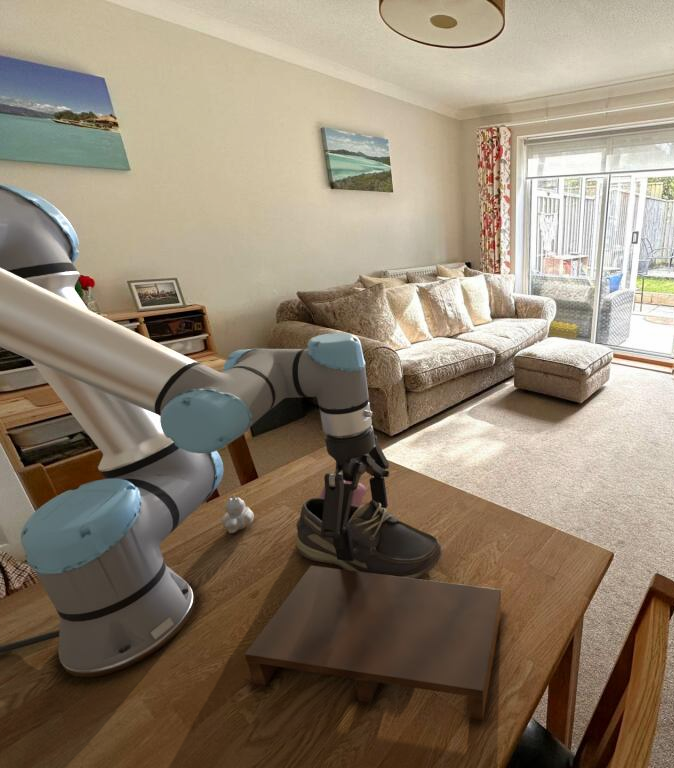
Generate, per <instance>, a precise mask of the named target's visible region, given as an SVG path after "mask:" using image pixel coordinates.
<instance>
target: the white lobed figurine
mask: <svg viewBox="0 0 674 768" xmlns="http://www.w3.org/2000/svg"><path fill="white" fill-rule="evenodd" d="M225 510H226V513H225V514H224V515H223V516H222V518H221V524H222V526H223V527H224V528H226V529H227V531H228V533H229V534H234V533H236V532H237V531H238V530H243V529H245V528H247V527H249V526H251V524H252V523H253V521H254V519H255V514H254V512H253V511H252V510H251V508H250V507H248V506H246V503H245V501H244V500H243V499H241V498H240V497H236V495H235V494H234V493H233V494H232V496H231V497H229V498H228V499H227V501H226V504H225Z"/></svg>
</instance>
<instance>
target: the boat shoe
mask: <svg viewBox="0 0 674 768" xmlns="http://www.w3.org/2000/svg"><path fill="white" fill-rule="evenodd" d="M323 507H324V498H319V497H312V498H309V499H307V500H306V501H305V502H304V503H303V504H302V506H301V509H300V510H301V511H300V513H299V519H298V520H297V522H296V530H297V533H296V535H295V544H296V547H297V548H296V549H297V550H298V553H299V554H300V555H301V556H302V557H305V558H307V559H309V560H310V561H311V560H312V561H315V562H318V563H319V562H320V563H329V564H332V565H333V564H334V565H335V566H339V567H340V568H341V569H343V570H350V571H358V572H366V573H374V574H382V575H390V576H398V577H405V578H413V579H419V578H420V577H423V576H424V575H425V574H428V573H429V572H430V571H431V570H432V569H434V567H435V566H436V565H437V564H438V563H439V561H440V559H441V558H442V553H443V549H442V544H441V543H440V542H439V540H438V539H437V537H435V536H433V535H431V534H429V533H427V532H425V531H423V530H419V528H416V527H413V526H412V525H409V524H407V523H405V522H403V521H401V520H400V519H399V518H398V517H397V516H395V515H393V514H392V513H390V512H389V511H388V510H387V508H382V507H381V504H380V503H377V502H375V501H374V500H372V499H371V500H370V501H369V502H366V503H364V504H363V503H362V504H361V506H356V505H352V504H351V507H350V512H349V516H348V521H347V526H346V527H350V533H351V539H352V544H353V550H354V556H355V558H354V560H353V561H346V560H337V555H336V549H335V548H334V544H333V539H332V538H327V537H321V527H322V517H323Z"/></svg>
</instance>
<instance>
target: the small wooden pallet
mask: <svg viewBox="0 0 674 768" xmlns="http://www.w3.org/2000/svg"><path fill="white" fill-rule="evenodd" d="M501 601H502V589H501V588H500V589H499V588H491V587H483V586H476V585H468V584H460V583H453V582H445V581H437V580H429V579H420V578H416V579H413V578H405V577H398V576H390V575H382V574H374V573H366V572H358V571H350V570H345V569H343V568H333V567H327V566H326V567H325V566H317V565H310V566H309V567H308V569H307V570H306V571H305V573H304V574H303V576H302V577H301V578H300V579H299V581H298V582H297V584H296V585H295V586H294V587H293V589H292V590H291V592H290V593H289V594H288V595H287V597H286V598H285V600H283V602H282V603H281V604H280V606H279V608H277V611H276V612H275V613H274V614H273V615H272V617H271V618H270V620H269V621H268V622H267V623H266V625H265V626H264V627H263V629H262V630H261V632H260V633H259V634H258V636H257V637H256V638H255V640H254V641H253V642H252V644H251V645H250V646H249V648H248V649H247V650H246V652H245V653H244V657H245V660H246V663H247V666H248V668H249V672H250V676H251V678H252V681H253V684H255V685H260V686H267V685H268V683H269V682H270V681H271V679H272V677H273V676H274V674H275V673H276V671H277V670H278V668H285V669H292V670H298V671H304V672H311V673H317V674H324V675H330V676H337V677H342V678H343V677H344V678H350V679H354V682H355V688H356V694H357V699H358V701H360V702H365V703H372V702H373V699H374V697H375V694H376V692H377V689H378V687H379V685H380V683H382V684H389V685H394V686H395V685H396V686H400V687H408V688H414V689H420V690H421V689H422V690H427V691H432V692H433V691H434V692H439V693H447V694H452V695H460V696H465V697H468V704H469V705H468V710H469V711H468V712H469V713H468V715H469V719H471V720H477V721H483V720H484V718H485V717H484V716H485V710H486V704H487V698H488V693H489V686H490V680H491V675H492V670H493V669H492V668H493V662H494V658H495V651H496V645H497V638H498V633H499V628H500V627H499V626H500V622H501V621H500V620H501V610H502V609H501V603H502V602H501Z"/></svg>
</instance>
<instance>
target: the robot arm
mask: <svg viewBox="0 0 674 768" xmlns="http://www.w3.org/2000/svg"><path fill="white" fill-rule="evenodd" d="M79 246H80V240H79V237H78V235H77V232H76V230H75V229H74V227H73V226H72V223H71V222H70V221H69V220H68V218H67V217H66V216H65V215H64V214H63V213H62V211H60V210H59V209H58V207H56V206H54V205H53V204H52V203H51V202H49V201H48V200H46V199H45V198H43V197H41V196H39V195H38V194H36V193H32V191H31V192H30V191H29V190H26V189H24V188H21V187H18V186H13V185H8V184H1V183H0V348H2V349H4V350H7V351H9V352H11V353H14V354H16V355H18V356H20V357H21V356H22V357H23V358H25V359H28V360H30V361H31V363H32V364H33V366H34V367H35V368H36V369H37V371H38V372H39V373H40V374H41V376H42V377H43V379H44V380H45V381H46V382H47V383H48V385H49V386H50V388H51V389H52V390H53V392H55V394H56V396H57V397H58V398H59V399H60V400H61V401H62V403H63V404H64V405H65V407H66V408H67V409H68V411H69V412H70V413H71V414H72V416H73V417H74V418H75V420H76V421H77V423H78V424H79V425H80V426H81V428H82V429H83V431H85V433H86V434H87V435H88V436H89V437H90V439H91V440H92V441H93V443H94V444H95V446H96V447H97V448H98V449H99V450H100V452H101V453H102V456H101V459H100V462H99V464H98V466H97V469H98V471H99V472H100V473H101V475H102V476H103V477H104V478H103V479H97V480H93V481H90V482H86V483H83V484H80V485H79V487H78V488H76V489H68V490H66V491H64V492H62V493H60V494H58V495H56V496H54V497H53V498H51V499H49V500H48V501H47V502H46V503H44V504H42V505H41V506H40V507H39V508H37V509H36V510H35V511H34V512H33V513H32V514H31V515H30V516H29V518H27V520H26V522H25V523H24V524H23V526H22V528H21V532H20V543H21V545H22V546H21V547H22V548H23V551H24V553H25V559H26V563H27V565H28V566H29V568H31V569H32V570H33V571H34V573H35V574H36V576H37V578H38V580H39V582H40V583H41V585H42V587H43V589H44V591H45V592H46V594H47V596H48V598H49V599H50V601H51V603H52V605H53V607H54V609H55V610H56V613H57V614H58V616H59V619H60V620H59V629H57V630H53V631H49V632H46V633H42V634H37V635H35V636H32V637H28V638H25V639H20V640H17V641H13V642H10V643H6V644H2V645H0V654H2V653H5V652H9V651H12V650H17V649H20V648H21V649H22V648H25V647H28V646H31V645H34V644H38V643H41V642H45V641H49V640H52V639H56V638H58V646H57V653H58V658H59V662H60V663H61V665H62V667H63V668H64V670H65V671H66V672H67V673H68V674H69V675H71V676H73V677H78V678H95V677H96V678H97V677H102V676H105V675H110V674H113V673H116V672H118V671H121V670H124V669H127V668H128V667H132V666H133V665H135V664H137V663H139V662H141V661H142V660H144V659H146V658H148V657H150V656H151V655H152V654H154V653H155V652H157V651H158V650H159V649H161V648H163V647H164V646H165V645H166V644H167V643H168V642H170V641H171V640H172V639H173V638H174V637H175V636H177V634H178V633H179V632H180V631H181V630H182V629H183V628H184V626H185V625H186V624H187V623H188V621H189V620H190V618H191V616H192V614H193V612H194V609H195V604H196V598H195V595H194V592H193V589H192V588H191V585H190V584H189V583H188V582H187V581H186V580H185V579H184V578H182V577H181V576H180V575H179V574H177V573H176V572H175V571H174V570H172V568H170V567H168V565H167V564H166V562H165V559H164V556H163V553H162V551H161V549H160V545H161V544H162V543H163V541H165V539H167V538H168V537H169V535H171V533H173V532H174V531H175V529H177V528H178V527H179V526H180V525H181V524H182V523H183V522H184V521H185V520H186V519H188V518H189V517H190V516H191V515H192V514H193V513H194V512H195V511H196V510H197V509H198V508H199V507H200V506H201V505H203V504H204V503H205V502H207V500H209V498H210V497H211V496H212V495H213V493H214V492H215V490H216V489H217V488H218V487H219V486H220V484H221V481H222V480H223V476H224V463H223V460H222V457H221V456H220V454H219V452H218V451H219V450H222V449H223V448H225V447H227V446H228V445H230V444H231V443H233V442H234V441H235V440H237V439H239V438H240V437H242V436H243V435H245V433H246V432H247V431H248V430H249V429H250V428H251V427H252V426H253V425H254V424H255V423H256V422H258V421H259V420H260V419H261V418H262V417H263V416H264V415H266V414H267V413H268V412H270V411H271V410H272V409H274V408H275V407H276V406H277V405H278V404H279V403H280V402H282V401H283V400H284V399H289V398H316V400H317V403H318V408H319V414H320V421H321V428H322V431H323V432H324V435H323V437H324V441H325V447H326V452H327V454H328V456H330V457H331V458H333V460H334V461H335V470H334V471H333V472H332V473H329V472H328V473H325V474H324V477H323V480H324V481H323V482H324V486H325V497H324V507H323V517H322V527H321V537H327V538H332V539H333V544H334V548H335V549H336V555H337V560H346V561H353V560H354V558H355V556H354V550H353V544H352V539H351V533H350V527H346V526H347V521H348V516H349V512H350V507H351V502H352V497H353V492H354V490H355V489H357V487H358V483H360V482H359V481H360V479H361V477H362V475H364V474H365V473H367V474H368V475H370V476H371V477H370V478H369V481H368V482H369V487H370V494H371V500H374V501H375V502H377V503H380V504H381V507H382V508H383V509H387V508H388V506H389V504H388V497H387V488H386V482H385V478H389V477H390V470H388V469H389V467H390V463H389V461H388V459H387V458H386V455H385V454H384V452H383V450H382V448H381V445H380V444H379V439H378V435H377V434H376V435H375V431H374V426H373V425H372V423H373V420H372V419H373V418H372V416H373V411H371V404H370V397H369V389H368V388H369V387H368V381H367V370H366V360H365V358H364V352H363V348H362V343H361V339H359V338H358V336H356V335H354V334H352V333H351V334H350V333H347V332H334V333H324V334H318V335H315V336H313V337H311V338H310V339H309V340H308V342H307V348H265V347H262V348H261V347H253V348H249V349H248V348H246V349H238V350H234V351H233V352H231V353H230V354H229V355H228V359H227V360H226V361H225V362H224V363H223V367H222V371H221V372H220V371H218V370H216V369H214V368H212V367H210V366H207V365H204V364H203V363H200V362H198V361H197V360H194V359H192V358H190V357H188V356H186V355H184V354H182V353H179V352H177V351H175V350H174V349H172V348H169V347H167V346H165V345H164V344H163V345H162V344H160V343H158V342H156V341H154V340H152V339H150V338H149V337H146V336H144V335H142V334H140V333H138V332H136V331H134V330H131V329H130V328H127V327H125V326H124V325H121V324H119V323H117V322H114V321H113V320H111V319H109V318H106V317H104V316H103V315H100V314H98V313H96V312H94V311H92V310H90V309H88V307H87V305H86V304H85V302H84V301H83V300H82V298H81V297H80V295H79V293H78V292H77V291H76V289H75V288H76V285H77V282H78V280H79V278H80V276H81V275H80V274H81V273H80V272H79V271H78V269H77V268H76V266H75V265H74V263H75V261H76V260H77V259H78V257H79V253H80V250H78V249H77V247H79ZM343 479H344V480H343ZM345 481H350V482H352V483H351V484H344V483H345Z"/></svg>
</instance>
